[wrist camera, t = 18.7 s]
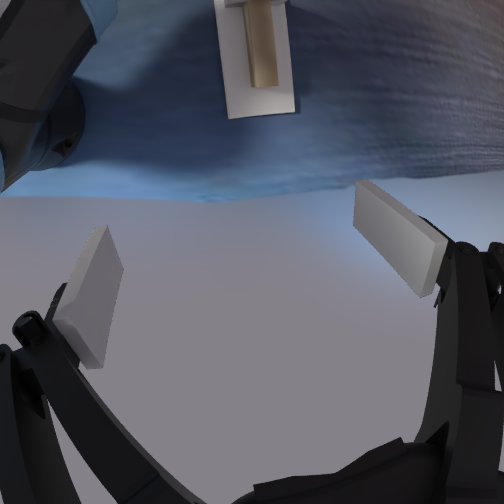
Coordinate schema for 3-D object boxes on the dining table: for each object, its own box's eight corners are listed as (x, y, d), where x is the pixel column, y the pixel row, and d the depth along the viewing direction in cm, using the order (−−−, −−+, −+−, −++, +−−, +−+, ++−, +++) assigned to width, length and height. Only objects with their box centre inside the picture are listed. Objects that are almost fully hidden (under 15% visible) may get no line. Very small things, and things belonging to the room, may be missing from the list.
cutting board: (228, 118, 41) (229, 119, 40) (210, -26, 28) (211, -28, 27) (292, 111, 42) (294, 112, 41) (278, -28, 29) (280, -29, 28)
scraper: (233, 89, 38) (240, 89, 33) (223, 1, 30) (229, -11, 25) (287, 84, 39) (301, 85, 34) (279, -1, 31) (292, -11, 26)
